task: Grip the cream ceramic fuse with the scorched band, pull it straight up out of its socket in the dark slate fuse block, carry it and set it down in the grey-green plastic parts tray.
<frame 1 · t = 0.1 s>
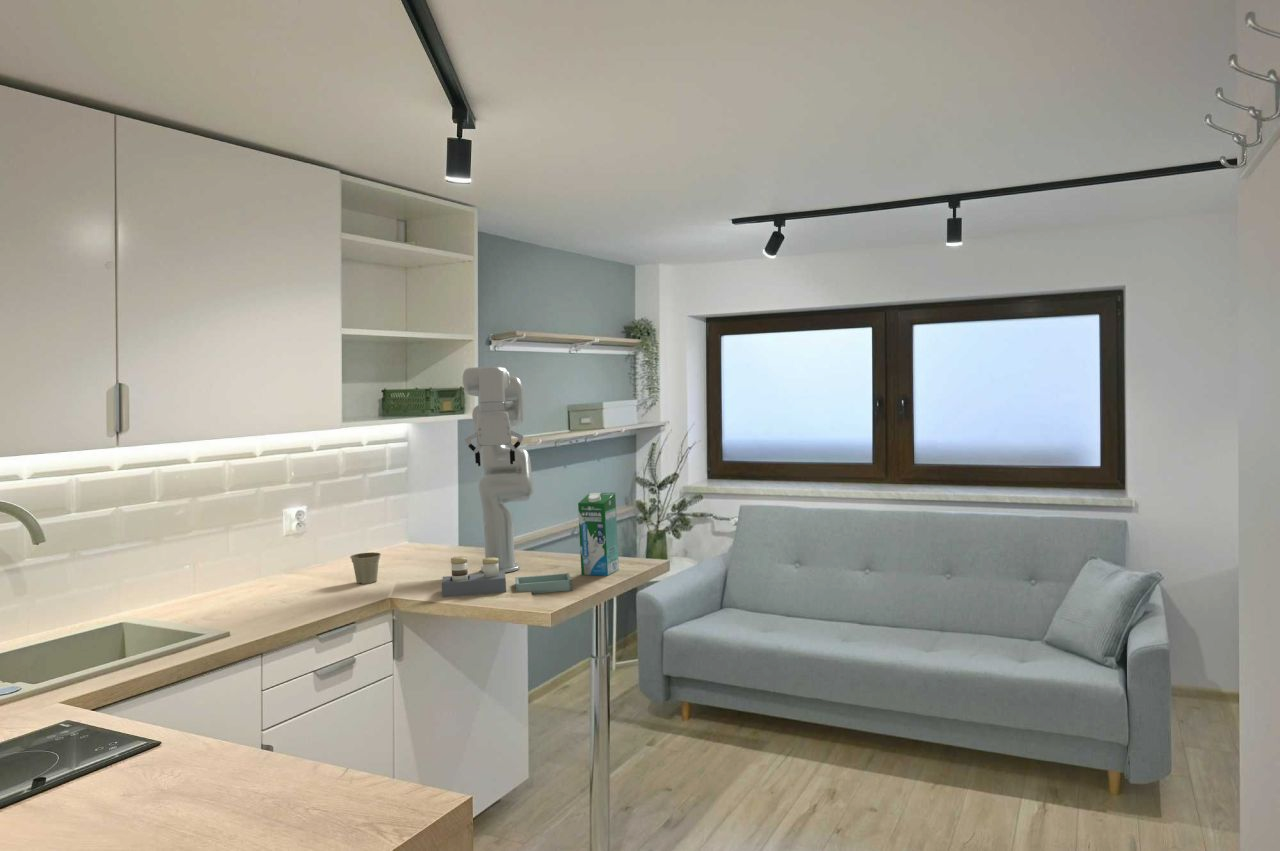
hand: (495, 464, 266), 37 cm above the countertop, tool pointing down, fingers open, 9 cm apart
blown fuse: (460, 592, 257), point 1 cm above the countertop, touching fuse block
parts tray: (543, 588, 261), on the countertop
milk carton: (600, 572, 281), on the countertop
fuse block: (474, 594, 258), on the countertop
flower pot: (367, 582, 282), on the countertop
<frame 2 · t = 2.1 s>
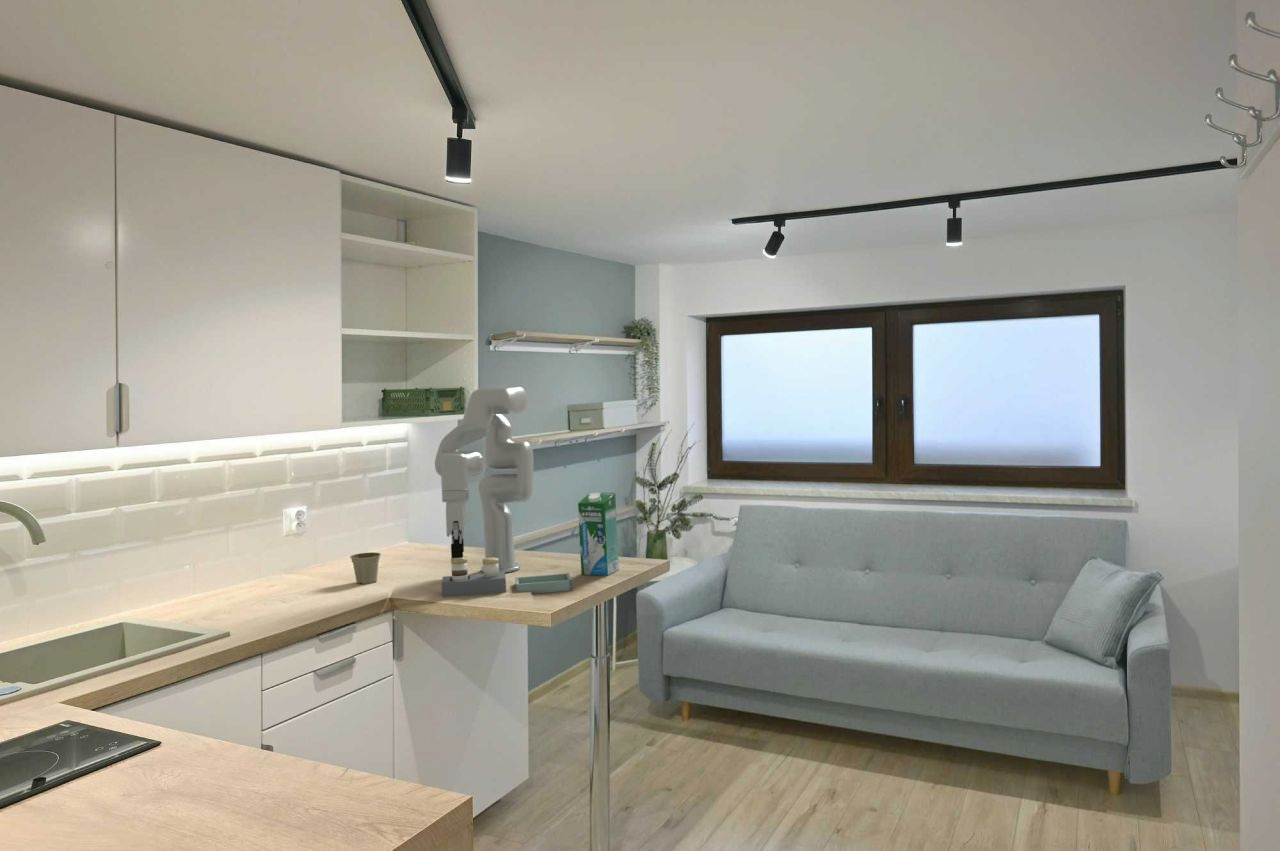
hand: (457, 555, 256), 12 cm above the countertop, tool pointing down, fingers open, 9 cm apart
nothing on the countertop moved.
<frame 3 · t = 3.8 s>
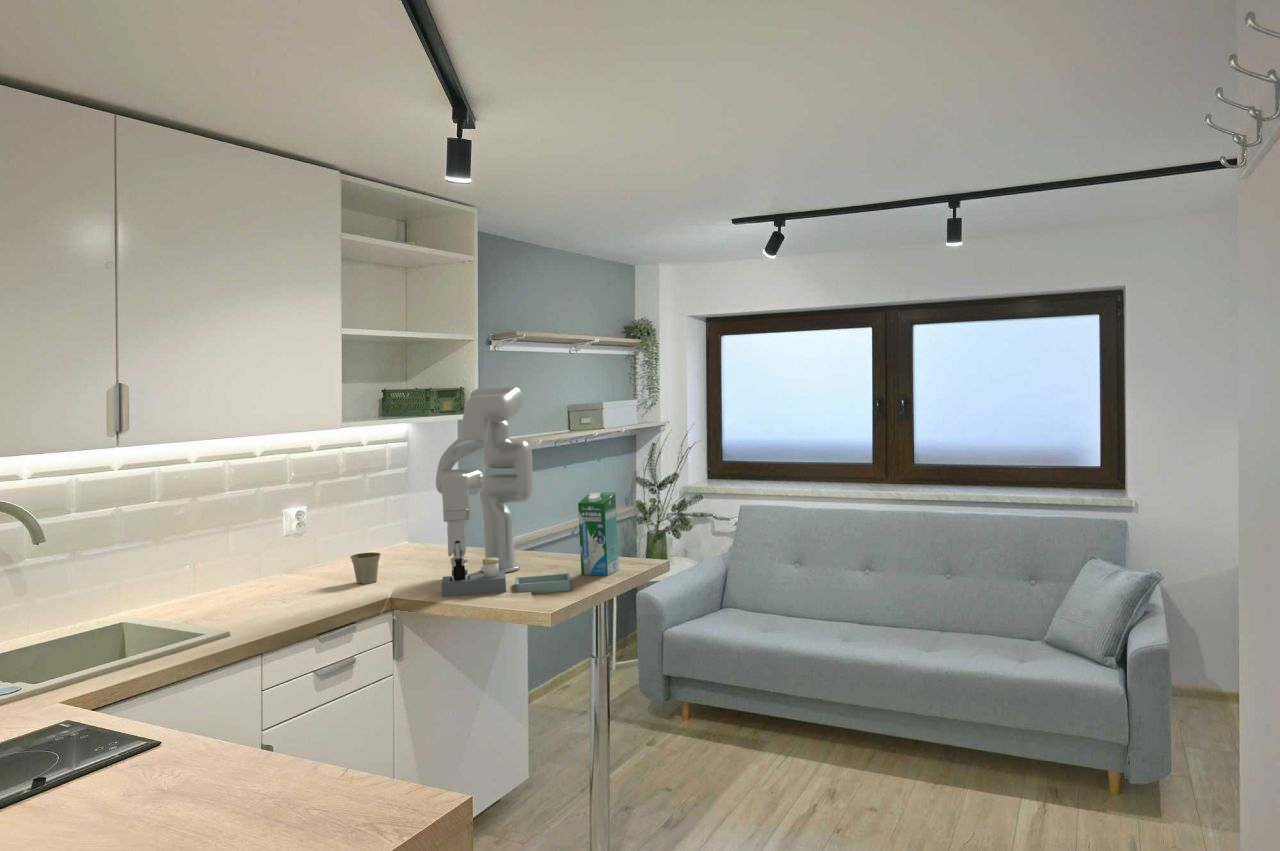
hand: (459, 577, 257), 5 cm above the countertop, tool pointing down, fingers closed on blown fuse, 4 cm apart
blown fuse: (460, 592, 257), point 1 cm above the countertop, touching fuse block, gripper
everything else where it was.
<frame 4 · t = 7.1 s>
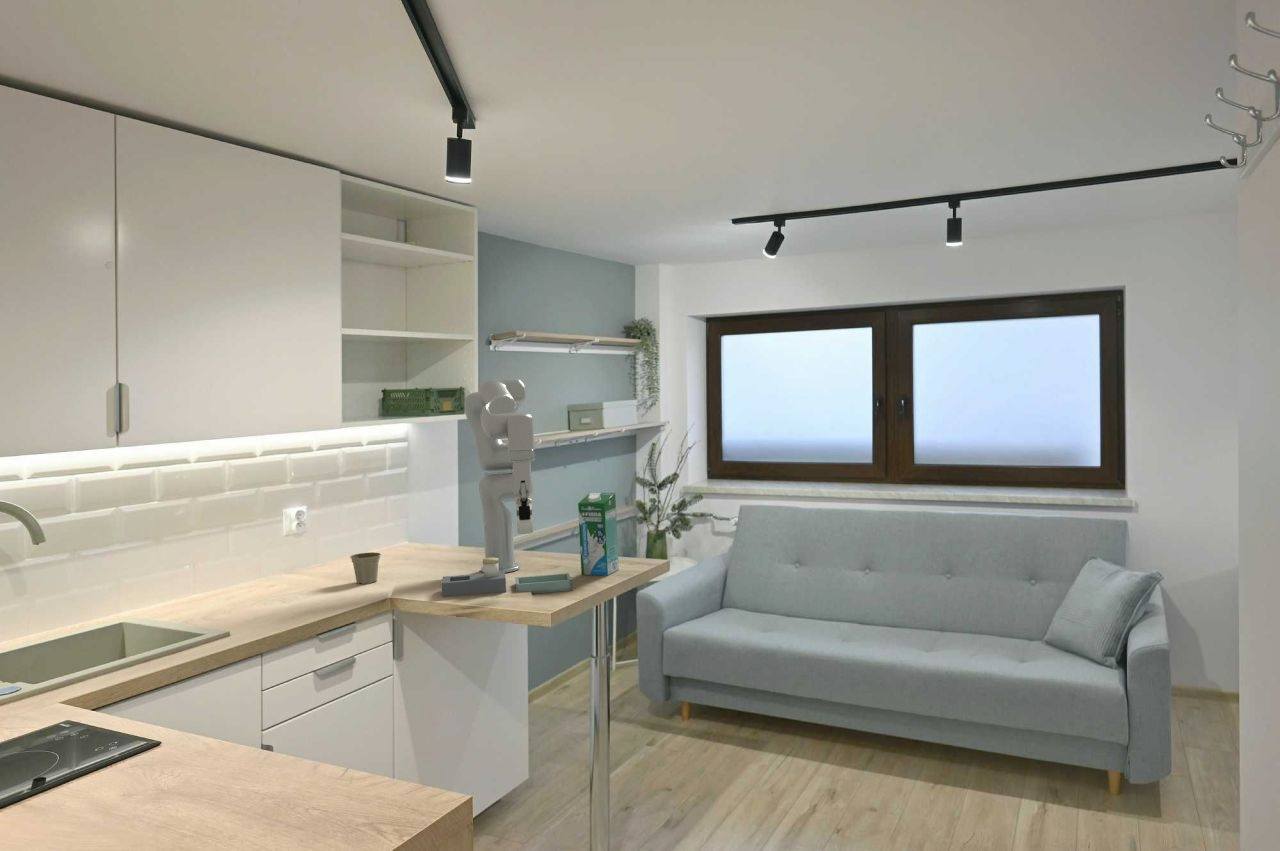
hand: (524, 517, 259), 21 cm above the countertop, tool pointing down, fingers closed on blown fuse, 4 cm apart
blown fuse: (525, 532, 260), point 17 cm above the countertop, touching gripper
everything else where it was.
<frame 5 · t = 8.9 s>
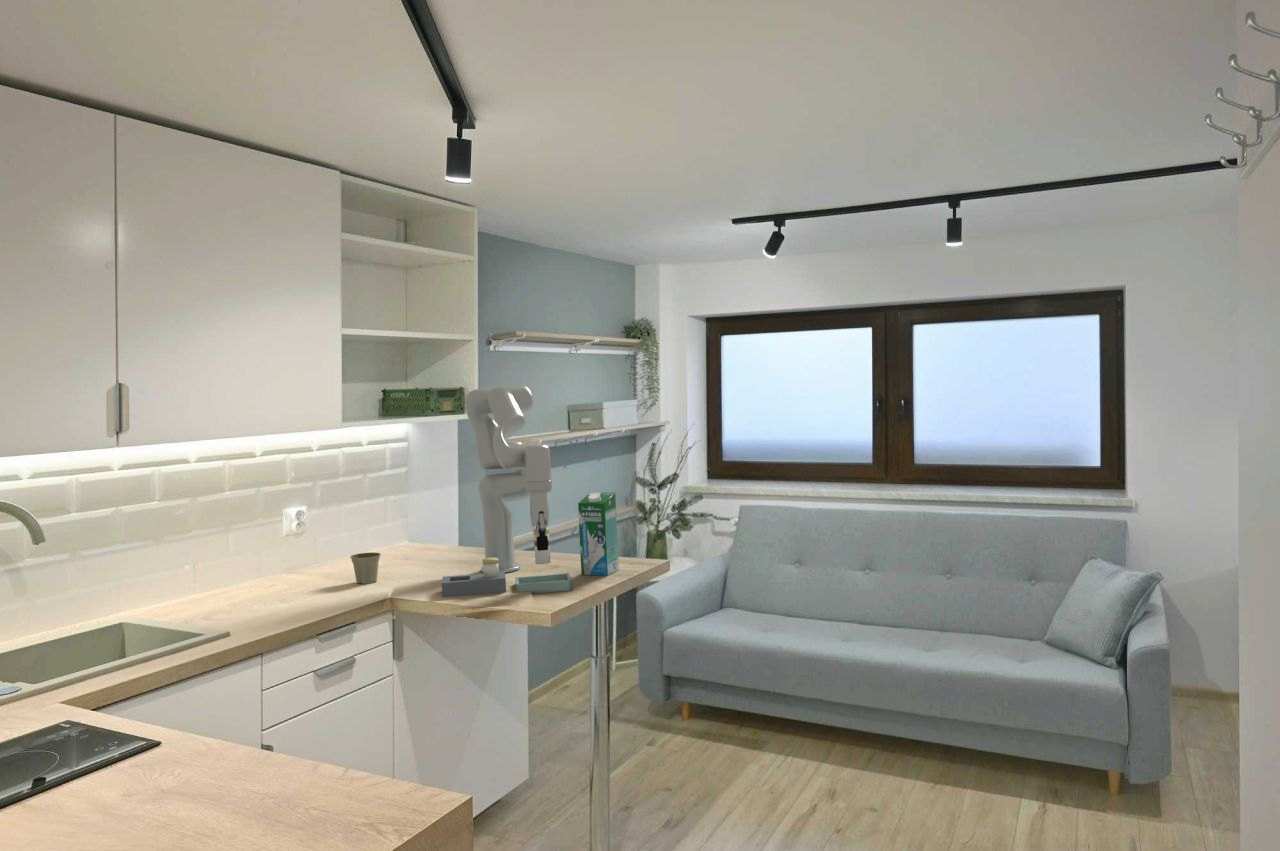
hand: (542, 548, 261), 12 cm above the countertop, tool pointing down, fingers closed on blown fuse, 4 cm apart
blown fuse: (542, 562, 261), point 8 cm above the countertop, touching gripper
everything else where it was.
when the fingers open (7 cm above the countertop, at t = 10.5 s): blown fuse drops 2 cm, resting on parts tray.
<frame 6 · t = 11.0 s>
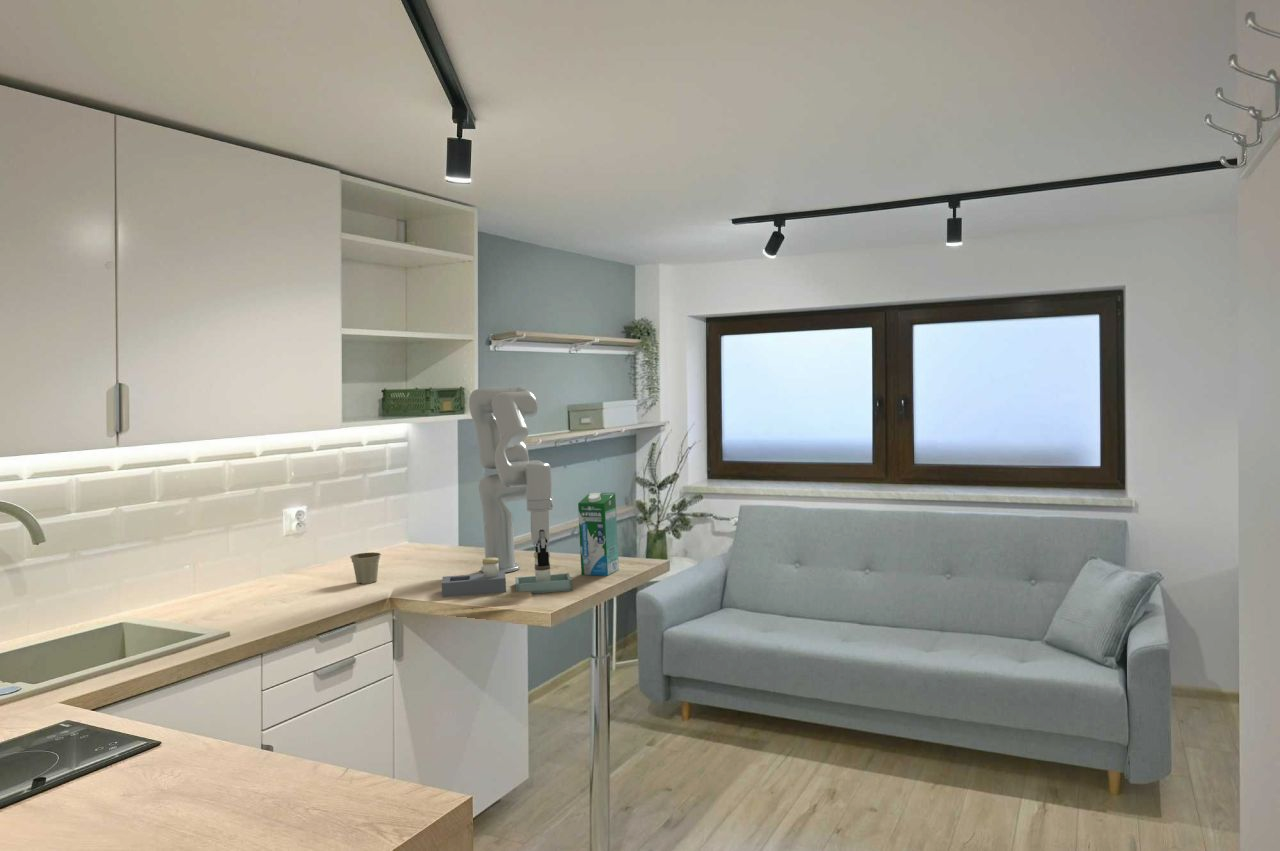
hand: (542, 562, 261), 8 cm above the countertop, tool pointing down, fingers open, 9 cm apart
blown fuse: (543, 586, 261), point 1 cm above the countertop, touching parts tray
everything else where it was.
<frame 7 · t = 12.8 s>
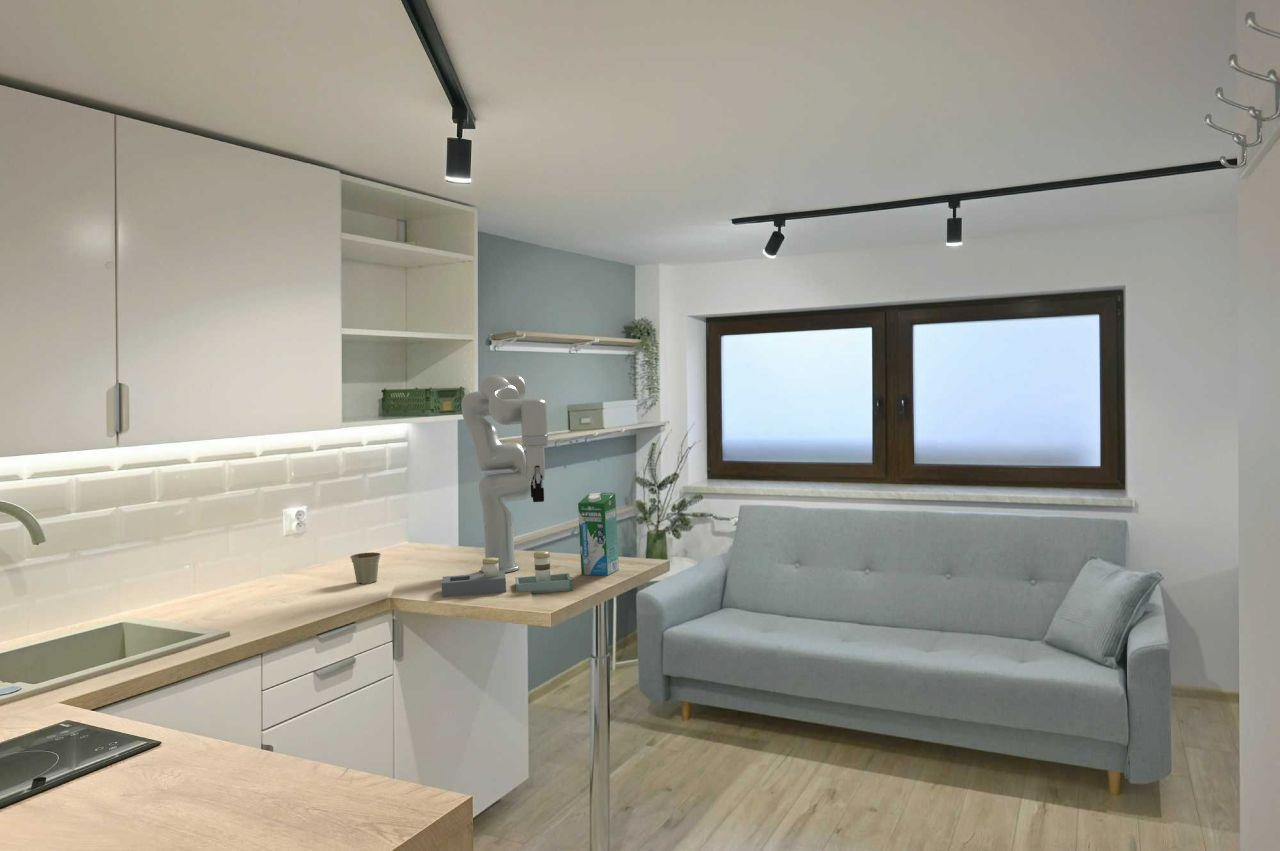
hand: (537, 499, 261), 26 cm above the countertop, tool pointing down, fingers open, 9 cm apart
nothing on the countertop moved.
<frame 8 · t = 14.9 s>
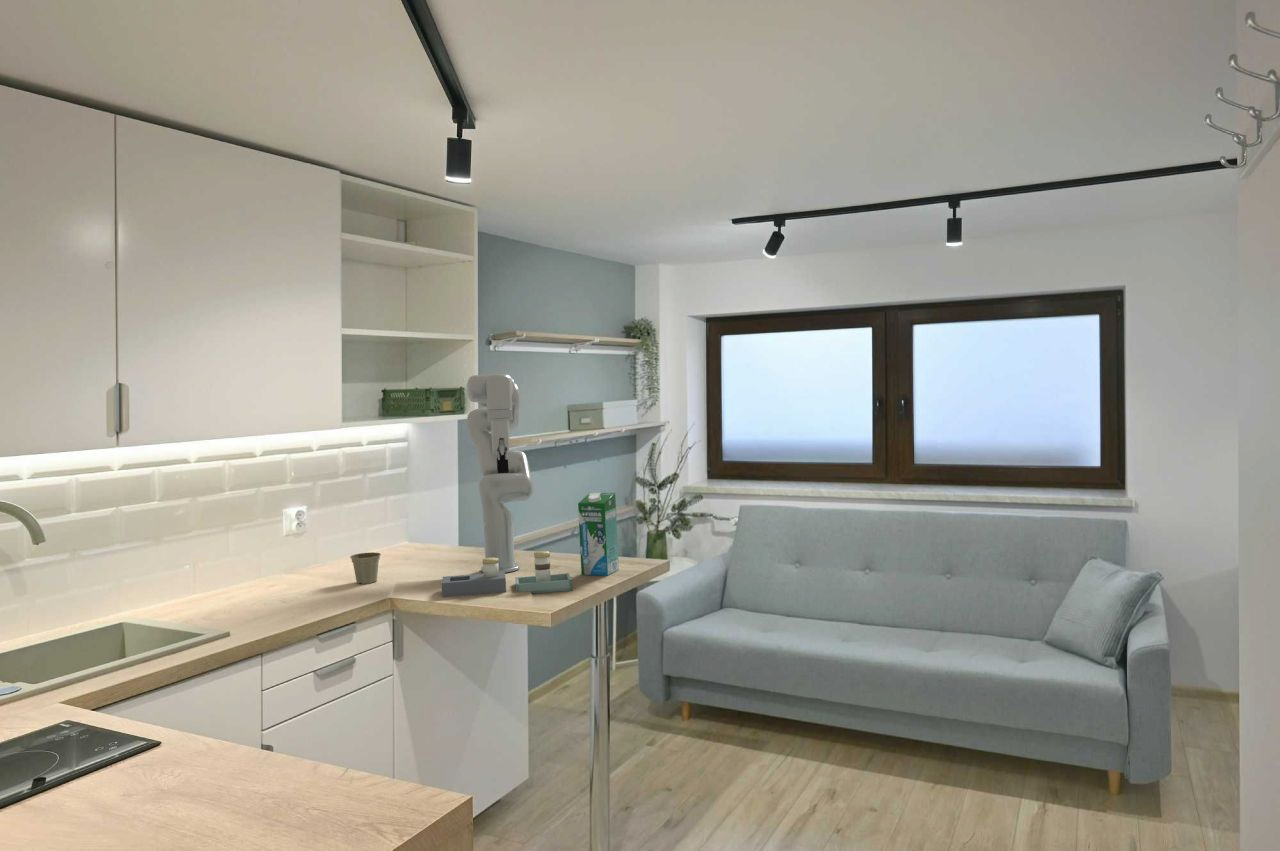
hand: (502, 471, 269), 34 cm above the countertop, tool pointing down, fingers open, 9 cm apart
nothing on the countertop moved.
at the end: blown fuse inside the target area on the parts tray (0.0 cm from its centre), point 0.8 cm above the parts tray's base; the gripper is holding nothing; blown fuse touching parts tray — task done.
